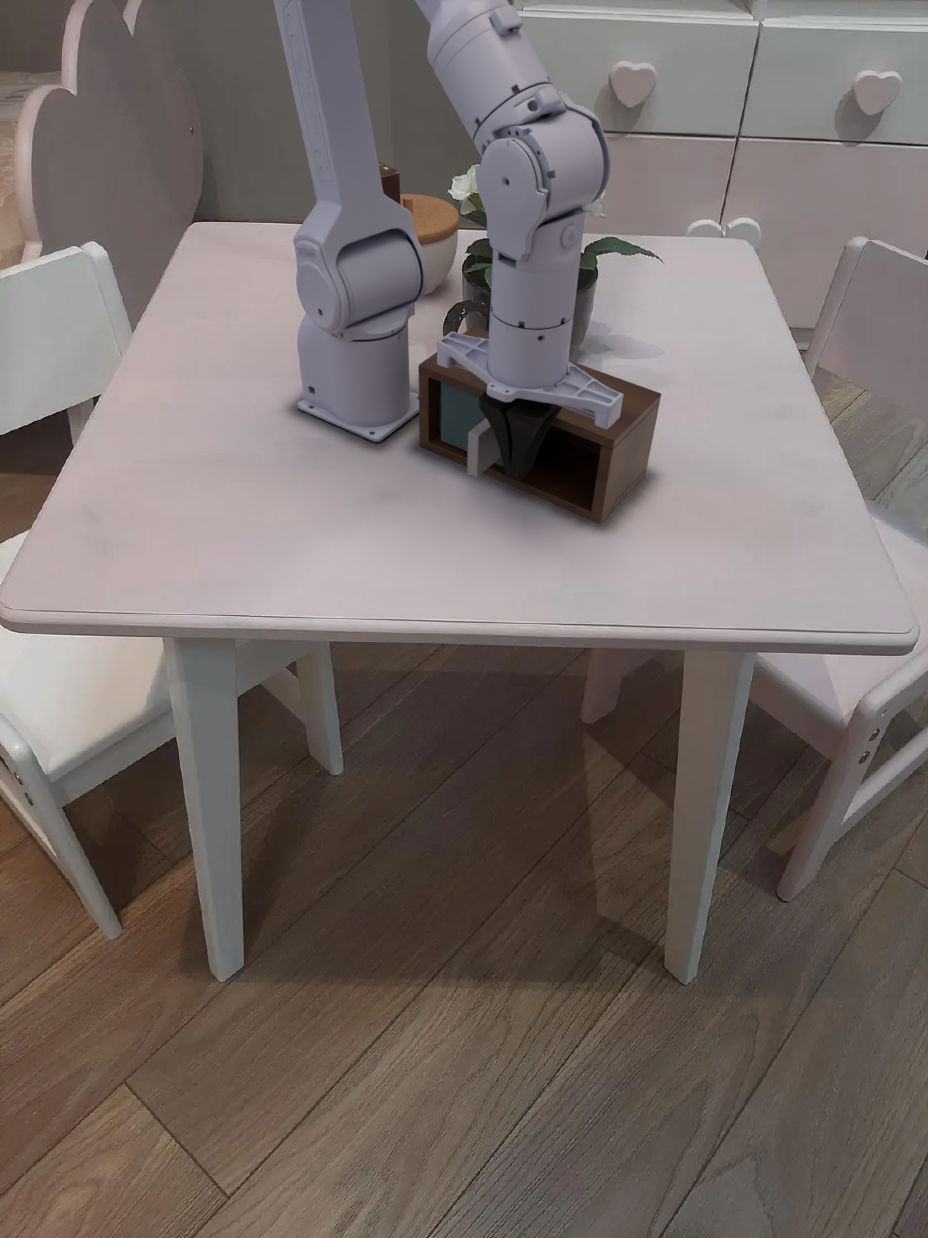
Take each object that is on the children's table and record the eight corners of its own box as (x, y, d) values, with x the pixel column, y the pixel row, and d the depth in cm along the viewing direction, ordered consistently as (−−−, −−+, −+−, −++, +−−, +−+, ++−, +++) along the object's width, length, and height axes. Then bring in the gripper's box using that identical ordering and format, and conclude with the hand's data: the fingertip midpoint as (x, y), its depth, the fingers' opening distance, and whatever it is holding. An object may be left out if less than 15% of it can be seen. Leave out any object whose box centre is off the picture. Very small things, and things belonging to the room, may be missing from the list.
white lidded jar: (469, 270, 106) (471, 184, 99) (442, 314, 99) (442, 224, 92) (379, 257, 108) (375, 172, 101) (346, 299, 100) (340, 210, 94)
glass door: (492, 493, 76) (495, 433, 71) (415, 460, 79) (414, 400, 74) (518, 470, 78) (522, 410, 74) (442, 438, 81) (443, 379, 77)
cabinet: (600, 524, 75) (614, 440, 69) (419, 446, 82) (418, 364, 76) (645, 475, 80) (662, 393, 74) (470, 405, 87) (473, 325, 81)
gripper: (411, 300, 64) (414, 462, 74) (597, 367, 59) (573, 533, 68) (469, 263, 68) (464, 422, 78) (647, 323, 63) (619, 485, 72)
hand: (518, 471), depth 73 cm, fingers closed
